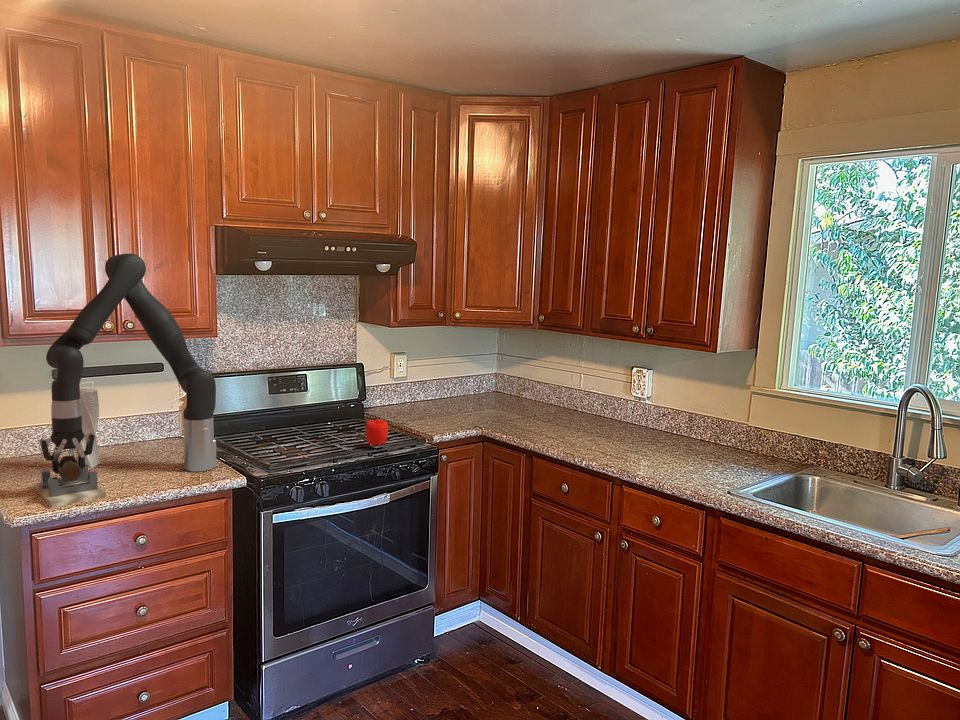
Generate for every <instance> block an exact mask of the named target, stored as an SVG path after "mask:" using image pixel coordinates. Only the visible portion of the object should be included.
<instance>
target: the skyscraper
mask: <svg viewBox="0 0 960 720" xmlns="http://www.w3.org/2000/svg"><path fill="white" fill-rule="evenodd" d="M86 384H91V386H90V387H87V386H86V387H80V401H81V408H82V431H83V433H84V434H89V433H92V434H93V435H94V436H95V438H94V443H93V449H92V454H90V455H87V456H85V464H87V465H88V468H93V467H94V466H96V465H98V464H100V463H101V458H100V457H101V455H100V451H99V444H98V439H97V431H98V426H99V419H100V402H99V401H100V399H99V393H98V389H96V388H93V387H94V384H95V382H94V381H84V382H82V383H81V382H80V386H82V385H86ZM86 443H87V441H86V440H85V438H83V439H82V441H81V442H80V446H81V448H82V450H83V451H85V449H86ZM74 450H75V449H68V456H73V457H74V458H75V451H74ZM78 457H79V455H78V453H77V452H76V461H77V462H78ZM100 465H101V464H100ZM98 466H99V465H98ZM93 469H94V468H93Z"/></svg>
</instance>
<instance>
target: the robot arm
mask: <svg viewBox="0 0 960 720" xmlns="http://www.w3.org/2000/svg"><path fill="white" fill-rule="evenodd" d="M146 268H147V267H146V263H145V261H144V259H142V257H140V256H139V255H137V254H134V253H120V254H115V255H112V256H110V257H109V258H108V259H107V260H106V262H105V264H104V270H105V272H104V273H105V274H106V277H107V279H108V280H107V282H106V283H105V284H104V286H103V287H102V289H101V290H100V291H99V292H98V293H97V294H96V295H95V296H94V297H92V299H91V300H90V301H89V302H88V303H86V305H85V306H84V307H83V308H82V309H81V311H80V312H79V313H78V315H76V317H75V318H74V320H73V322H72V323H71V325H70V326H69V328H68V329H67V330H66V331H65V332H64V333H62V334H61V335H60V336H59V337H58V338H57V339H56V340H55V341H54V342H53V343H52V344H51V345H50V346H49V348H48V350H47V352H46V355H45V360H46V363H47V365H49V366H50V367H51V368H53V369H56V370H57V375H56V379H54V380H52V383H51V387H50V388H51V413H50V415H51V435H50V437H48V438H41V439H39V445H40V447H41V452H42V455H43V458H44V459H45V461H50V462H51V470H52V472H53V473H54V474H56V475H59V473H58V472H59V471H60V467H59V462H60V460H59V458H60V456H61V454H62V453H63V451H67V450H69V449H74V450H75V451H76V454H77V453H78V455H79V457H78V465H79V467H80V468H81V469H82V470H83V468H84V467H85V456H87V455H90V454H92V449H93V443H94V438H95V436H94V435H93V434H92V433H89V434H84V433H83V431H82V408H81V401H80V390H81V385H80V384H81V380H82V375H83V371H84V366H85V365H84V363H85V362H84V361H85V360H84V356H83V354H82V352H81V351H80V350H81V348H82V347H83V346H87V345H90V344H91V343H92V342H93V341H94V340H95V338H96V337H97V335H98V334H99V333H100V332H101V329H102V328H103V327H104V326H105V324H106V322H107V320H108V319H109V318H110V316H111V315H112V313H113V312H114V311H115V310H116V308H117V307H118V306H119V305H120V303H122V301H123V299H125V301H126V303H127V304H128V305H129V307H130V309H131V310H132V312H133V314H134V315H135V317H136V318H137V320H138V322H139V323H140V324H141V327H142V329H143V330H144V331H145V333H146V335H147V336H148V338H149V339H150V340H151V342H152V343H153V345H154V347H156V350H158V351H159V353H160V354H161V355H162V357H163V358H164V360H166V362H167V363H168V364H169V366H170V368H171V370H172V372H173V374H174V376H175V377H176V378H175V379H177V382H178V385H179V386H180V389H182V391H183V392H184V393H185V394H186V407H185V408H184V409H183V412H182V415H183V416H182V417H183V467H184V468H183V469H184V471H188V472H205V471H209V470H212V469H215V468H217V440H216V439H215V437H214V433H215V431H214V427H215V425H214V412H215V409H216V401H217V399H216V397H217V396H216V395H217V383H216V379H215V377H214V376H213V374H212V373H211V372H208V371H207V370H204V369H203V368H201V366H200V365H199V364H198V363H197V362H196V360H195V359H194V358H193V356H192V354H191V352H190V351H189V349H188V346H187V342H186V339H185V336H184V334H183V331H182V329H181V328H180V325H179V324H178V323H177V321H176V319H175V318H174V316H173V314H172V313H171V312H170V311H169V310H168V309H167V308H166V306H164V304H162V303H161V302H160V301H159V300H158V299H157V298H156V297H155V296H153V295H152V293H151V292H150V291H149V290H148V288H147V287H146V285H145V284H144V281H143V279H144V277H145V274H146V271H147V269H146ZM83 438H85V440H86V441H87V443H86V449H85V451H83V450H82V448H81V446H80V442H81V441H82V439H83ZM50 443H52V444H53V445H55V446H54V448H53V452H52V454H51V453H50V450H49V447H50V446H51V445H50Z"/></svg>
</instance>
